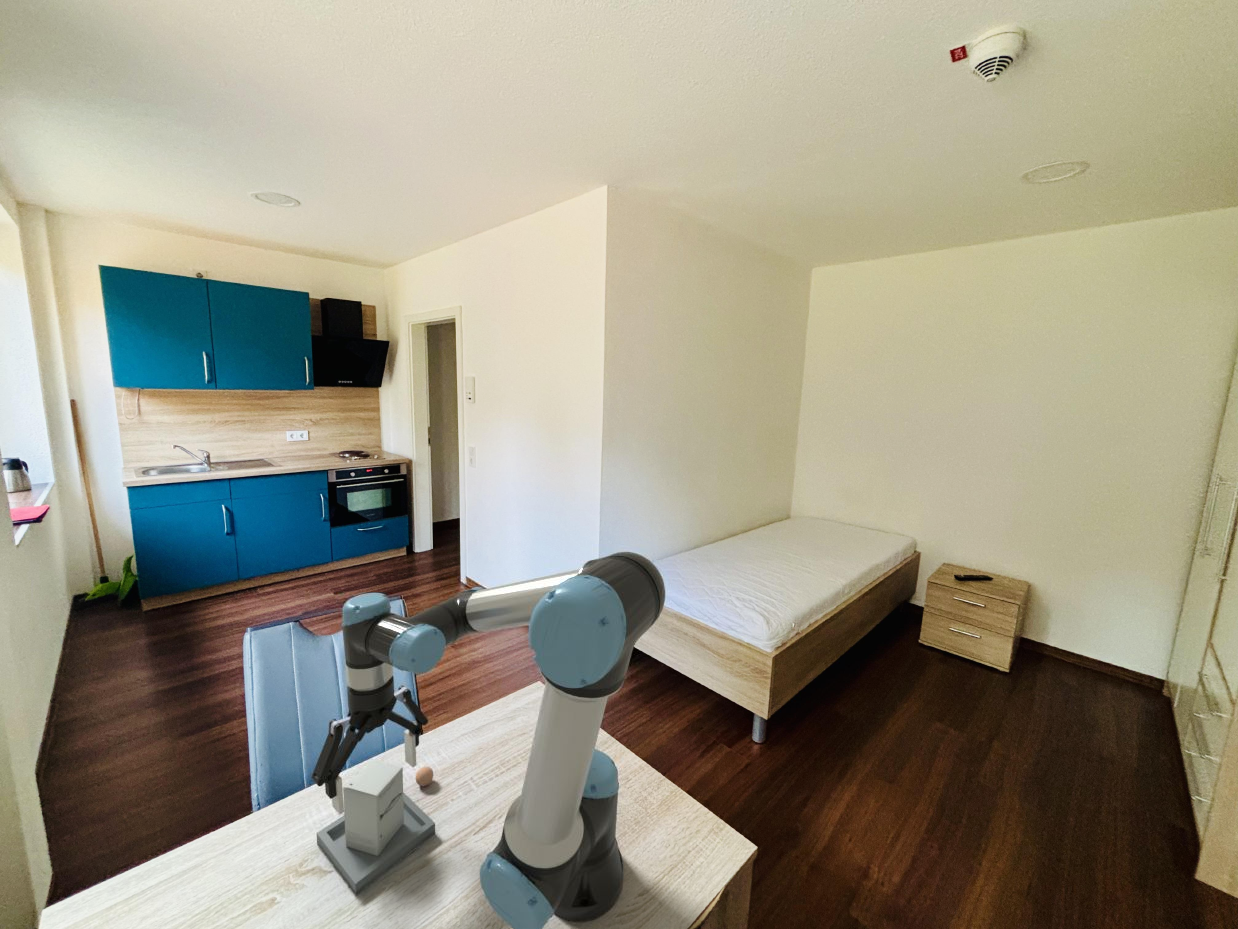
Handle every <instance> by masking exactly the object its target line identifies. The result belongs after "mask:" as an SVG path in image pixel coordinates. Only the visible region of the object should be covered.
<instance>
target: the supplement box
mask: <svg viewBox="0 0 1238 929" xmlns="http://www.w3.org/2000/svg"><path fill="white" fill-rule="evenodd" d="M403 772H404V767H403V766H400V765H397V764H393V763H389V762H385V761H381V760H378V759H377V760H376V759H373V758H372V759H370V760H369V761H368V762H367V763H366V764H365V765H364V766H363V767H362V768H361V769H360V770H359V771H358V772H357V773H356V774H355V775H354V776H353V777H352V778H351V779H350V780H349V781H348V783H346V784H345V785H344V786H342V789H343V803H344V812H343V816H344V818H345V839H346V846H347V847H350V848H353V849H357V850H360V851H363V852H366V853H369V854H372V855H376V856H378V855H379V854H380V853H381V851H382V850H383V849H384V847H385V846H386V845H387V843H388V842H389V841H390V839H391V838H392V837H393V836H394V834H395V833H396V832H397V831H398V830H399V828H400V827H401V826H402V825H403V823H404V804H403V792H404V773H403Z"/></svg>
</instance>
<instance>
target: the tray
mask: <svg viewBox="0 0 1238 929" xmlns="http://www.w3.org/2000/svg"><path fill="white" fill-rule="evenodd" d="M403 804H404V823H403V825H402V826H401V827H400V828H399V830H398V831H397V832H396V833H395V834H394V836H393V837H392V838H391V839H390V841H389V842H388V843H387V845H386V846H385V847H384V849H383V850H382V851H381V853H380V854H379V855H378V856H376V855H372V854H369V853H366V852H363V851H360V850H357V849H353V848H350V847H347V846H346V839H345V818H344V815H342V816H340V817H339V818H338V819H336V820H334V821H333V822H331V823H330V824H328V825H327V826H325V827H324V828H322V829H320V830H319V831H317V832H316V845H317V846H318V847H319V849H320V850H321V851H322V853H323V854H324V856H325V857H326V858H327V860H328V861H329V862H330V864H332V866H333V867H334V869H335V870H336V872H337V873H338V874H339V876H340V877H341V878H342V879H343V880H342V881H343V882H345V883H346V885H347V887H348V888H349V889H350V891H351V892H352V893H353V894H354V895H355V897H357V896H359V895H360V894H361V893H362V892H364V891H365V890H366V889H367V888H369V887H370V886H371V885H373V884H374V883H375V882H377V881H378V880H379V879H380V878H381V877H382V876H384V875H385V874H386V873H388V872H389V871H391V869H392V868H393V869H394V867H395V866H397V865H398V864H399V863H401V862H402V861H403V860H405V858H407V857H408V856H409V855H410V854H412V853H413V852H414V851H416V850H417V849H419V848H420V847H421V846H422V845H423V844H425V843H426V842H427V841H429V840H430V839H431V838H432V837H433V836H434V835H436V822H435V821H434V820H433V819H432V818H430V817H429V816H428V815H427V814H426V812H424V811H423V810H422V809H421V808H420V807H419V806H418V805H417V804H416V803H415V802H414V801H413V800H412V799H411V798H410V797H409V796H408V795H407V794H406V793H405V792H404V791H403Z"/></svg>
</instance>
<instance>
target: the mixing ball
mask: <svg viewBox="0 0 1238 929" xmlns="http://www.w3.org/2000/svg"><path fill="white" fill-rule="evenodd" d="M433 778H434V771H433V769H432V768H431V767H430V766H428V765H427V766H423V767H420V768H418V770H417V771H416V774H415V782H416V784H417V785H419V786H420V787H424V786H427V785H429V784H430V783H431V782H432V780H433Z"/></svg>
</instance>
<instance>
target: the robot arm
mask: <svg viewBox="0 0 1238 929" xmlns="http://www.w3.org/2000/svg"><path fill="white" fill-rule="evenodd" d="M665 601H666V586H665V582H664V579H663V576H662V575H661V572H660V571H659V569H658V568H657V567H656V565H655V564H654V563H653V562H652V561H650V560H649V559H648V558H646V556H643V555H641V554H639V553H636V552H633V551H632V552H631V551H621V552H620V551H618V552H616V553H612V554H609V555H607V556H604V557H600V558H595V559H591V560H588V561H586V562H584V564H583V565H582V566H581V567H580V569H575V570H570V571H564V572H560V573H556V574H550V575H546V576H541V577H536V578H532V579H526V580H522V581H516V582H512V583H507V584H504V585H503V584H502V585H499V586H495V587H489V588H483V587H481V586H475V587H473V588H472V587H471V588H470V589H466V590H463V591H461V592H459V593H458V594H457V595H454V596H452V597H450V598H448V599H446V600H444V601H442V602H440V603H438V604H435V605H433V606H431V607H428V608H426V609H425V610H423V611H420V612H418V613H417V614H414V615H412V616H409V617H405V616H402V615H399V614H396V613H395V612H394V613H393V612H391V608H392V606H391V603H390V598H389V597H388V596H387V594H384V593H380V592H368V593H362V594H359V595H356V596H354V597H351V598H350V599H349V598H348V600H346V601H345V603H344V604H343V606H342V623H341V627H342V638H343V650H344V651H343V652H344V659H345V663H344V665H345V680H346V685H347V687H346V694H347V695H346V696H347V705H348V706H347V707H348V713H347V715H346V717H344V718H341V719H336V718H333V719H331V720H330V721H329V723H328V734H327V736H326V739H325V741H324V743H323V746H322V748H321V751H320V754H319V757H318V759H317V762H316V765H315V767H314V769H313V772H312V774H311V780H312V781H313V782H314V783H315V784H316V785H317V786H318V787H322V786H324V788H325V789H324V790H325V795H326V796H327V797H328V798H329V799H330V800H331V803H332V808H333V809H334V810H335V811H336V812H337V813H338V815H339V816H340V815H341V814H344V795H343V779H342V777H341V776H340V773H341V772H342V770H343V769H344V767H345V766H346V764H347V762H348V760H349V758H350V757H351V755H352V753H353V751H354V750H355V748H356V746H357V744H358V743H359V742H361V741H362V740H363V738H364V736H365V735H366V734H369V733H372V731H374V730H375V729H377V728H380V727H383V726H384V725H385V723H386V722H387V721H388V720H389V721H391V722H393V723H395V724H397V725H399V726H401V727H403V729H406V730H404V731H403V737H404V739H403V740H404V742H403V743H404V757H405V758H404V760H405V762H406V763H407V764H408V765H409V766H411V767H412V768H415V767H416V766H417V749H416V748H417V747H419V745H420V735H421V734H422V732H423V729H422V727H423V726H426V725H427V724H428V723H429V719H428V718H427V717H426V715H425V714H424V712H423V711H422V710H421V709H420V708H419V706H418V705H417V703H416V702H415V700H413V695H412V692H411V690H410V689H409V688H408V687H406V686H404V685H400V686H398V690H397V691H395V680H394V679H395V678H394V675H393V674H394V668H396V669H397V670H400V671H402V672H403V671H404V672H408V673H412V674H415V675H424V674H427V673H429V672H431V671H432V670H433V669H434V668H436V665H437V664H438V663H439V662H440V661H441V660H442V658H443V657H444V654H445V650H446V648H447V647H448V646H450V645H452V644H453V643H455V642H457V641H458V640H460V639H462V638H464V637H466V636H469V635H471V634H478V633H485V632H490V631H497V630H505V629H509V628H510V629H511V628H512V629H513V628H518V627H525V626H528V644H529V648H530V650H531V651H534V653H535V655H534V656H533V660H534V662H535V665H537V667H538V670H539V673H540V675H541V677H542V678H543V681H545V683H544V688H543V689H544V690H543V693H542V697H541V703H540V708H539V712H538V716H537V721H536V726H535V730H534V734H533V738H532V739H533V740H532V744H531V748H530V753H529V757H528V761H527V765H526V769H525V770H526V771H525V775H524V780H523V785H522V789H521V793H520V795H519V796H517V797H516V798H515V800H514V801H513V802H512V803H511V805H510V806H509V808H508V809H507V813H506V816H505V819H504V823H503V828H502V832H501V837H500V840H499V842H498V843H497V844H496V846H495V848H494V849H493V850H492V851H490V852H489V853H488V854H487V855H486V858H485V859H484V861H483V863H482V864H481V866H480V869H479V882H480V886H481V889H482V891H483V894H484V896H485V897H486V900H487V902H488V904H489V905H490V907H491V908H492V909H493V910H494V912H495V913H496V914H497V915H498V917H499V918H500V919H502V920H503V921H504V923H506V924H507V925H508V926H510V927H511V928H512V929H544V927H545V926H546V924H547V923H548V921H549V920H550V919H552V918H553V917H554V915H556V916H558V917H559V918H562V919H563V920H567V921H572V922H588V921H593V920H595V919H597V918H600V917H602V916H603V915H605V914H606V913H607V912H608V911H610V910H611V909H612V908H613V906H614V905H615V904H616V902H617V901H618V899H619V897H620V895H621V893H622V889H623V886H624V871H625V869H624V868H625V866H624V860H623V856H622V853H621V851H620V848H619V844H618V840H617V838H616V835H617V833H616V830H617V817H618V816H617V815H618V802H619V801H618V797H619V790H620V782H619V772H618V768H617V766H616V763H615V761H614V760H613V759H612V758H611V757H610V755H608V754H607V753H606V752H604V751H601V750H599V749H596V746H597V745H596V744H597V740H598V738H599V733H600V730H601V725H602V721H603V718H604V714H605V710H606V705H607V702H608V699H609V697H612V696H614V695H615V694H616V693H617V692H618V691H620V689H621V688H622V687H623V685H624V683H625V679H626V675H627V672H628V668H629V664H630V661H631V658H632V653H633V650H634V647H635V645H636V643H637V641H638V640H639V639H640V638H641V637H642V636H643V635H644V634H646V632H648V630H649V629H650V628H652V626H653V625H654V624H656V622H657V620H658V619H659V617H660V615H661V614H662V611H663V609H664V606H665ZM398 701H399V702H400V703H402V704H403V705H404V706H405V707H406V709H407V710H408V711H409V713H410V714H411V715H412V717H413V718H414V719H415V720H413V721H412V720H410V719H407V718H406V717H405V716H403V715H401V714H399V713H397V712H396V711H393V710H394V708H395V705H396V703H397V702H398ZM346 728H347V729H346ZM356 730H357V732H356ZM343 734H345V735H344V738H343Z"/></svg>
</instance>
